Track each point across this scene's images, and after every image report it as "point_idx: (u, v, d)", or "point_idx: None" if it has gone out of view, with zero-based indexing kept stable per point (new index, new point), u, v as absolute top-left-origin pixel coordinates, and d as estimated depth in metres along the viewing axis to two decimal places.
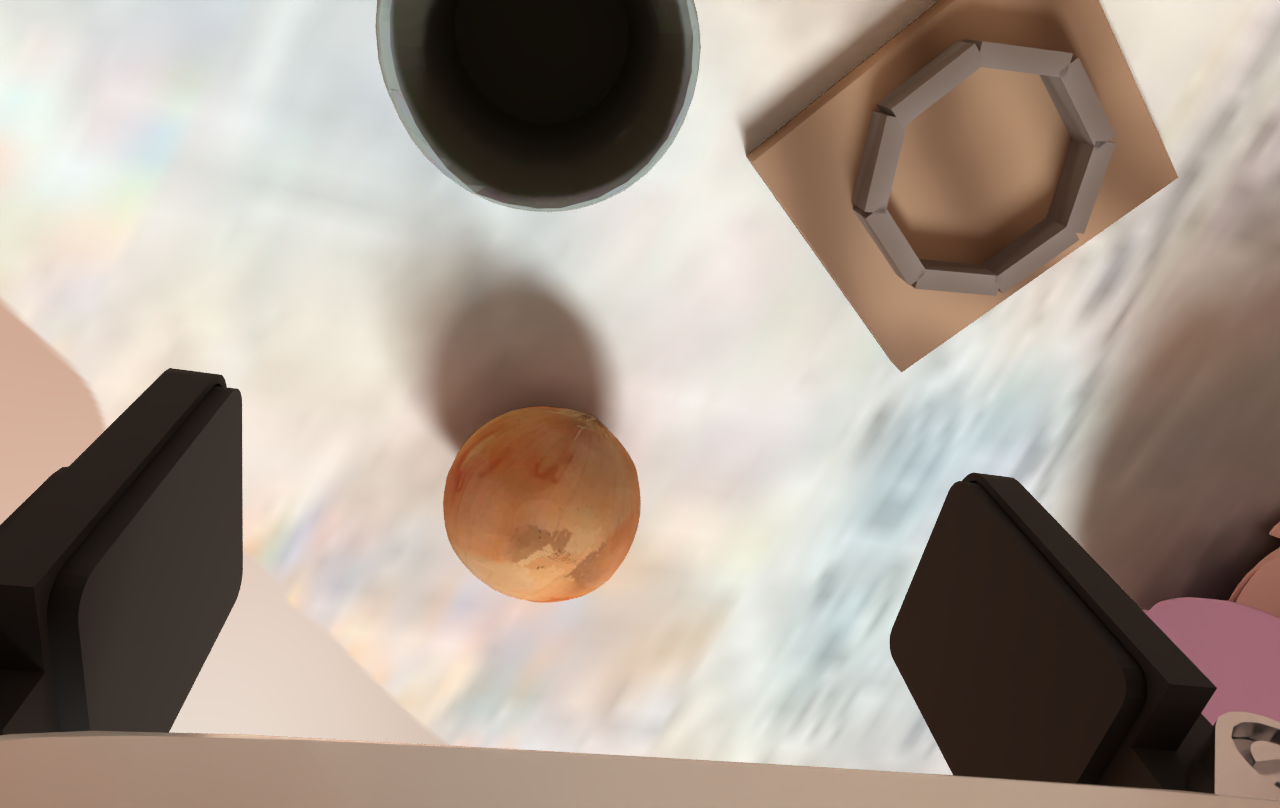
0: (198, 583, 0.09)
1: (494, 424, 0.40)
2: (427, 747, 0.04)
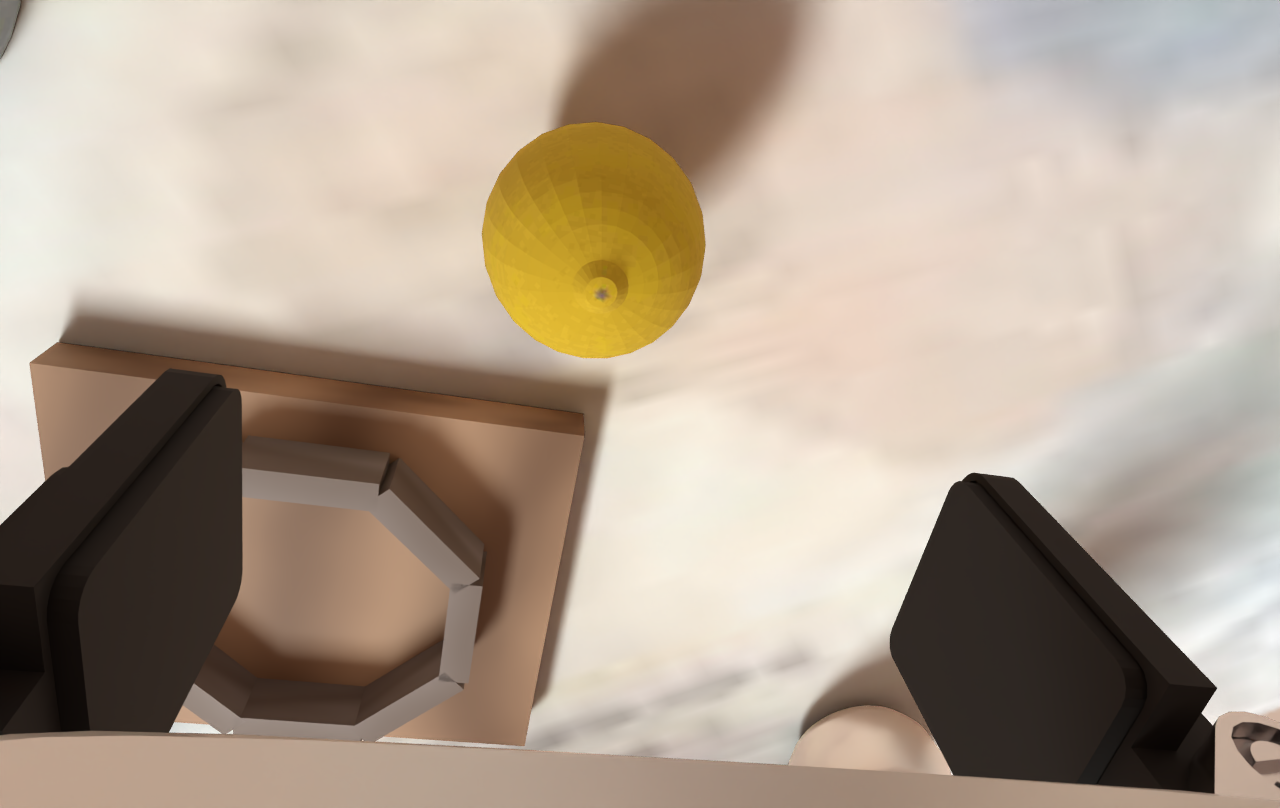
0: (198, 583, 0.09)
1: None
2: (427, 747, 0.04)
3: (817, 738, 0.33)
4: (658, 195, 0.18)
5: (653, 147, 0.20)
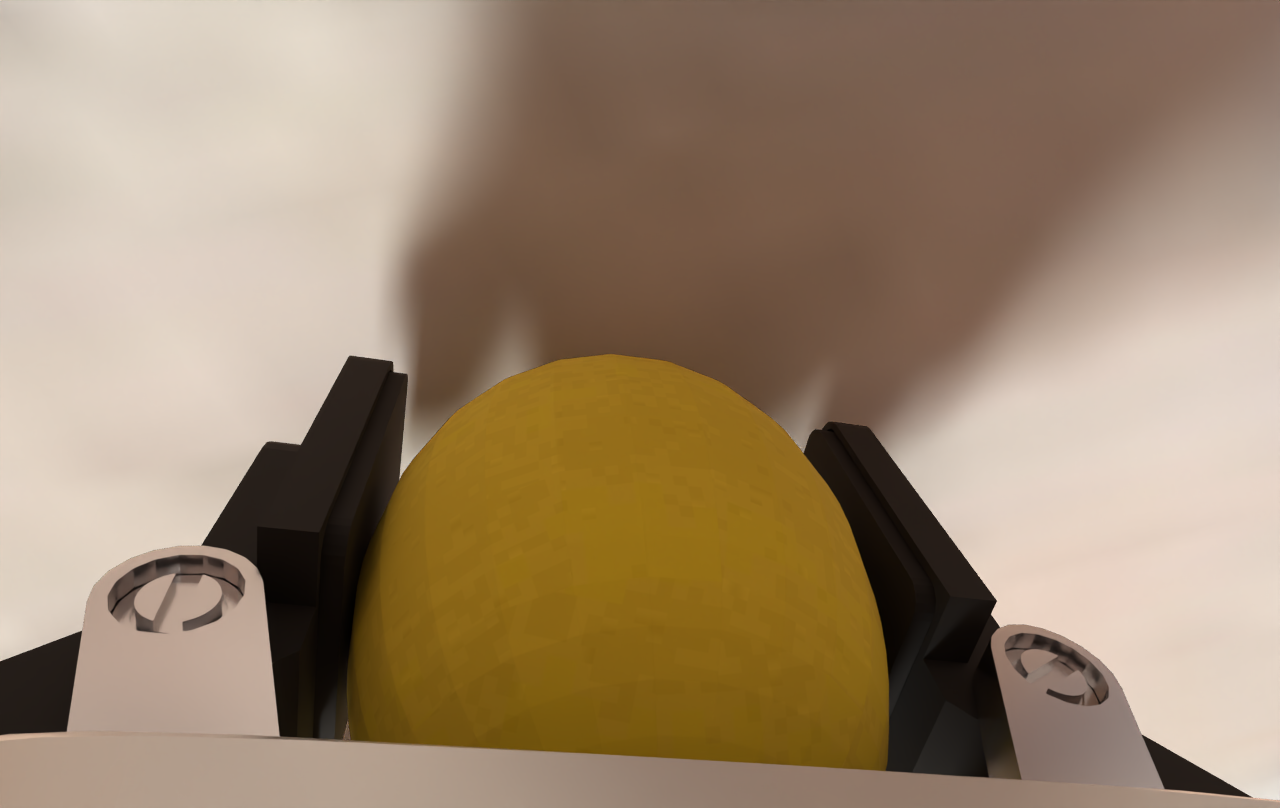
0: None
1: None
2: (427, 747, 0.04)
3: None
4: (808, 650, 0.07)
5: (766, 454, 0.08)
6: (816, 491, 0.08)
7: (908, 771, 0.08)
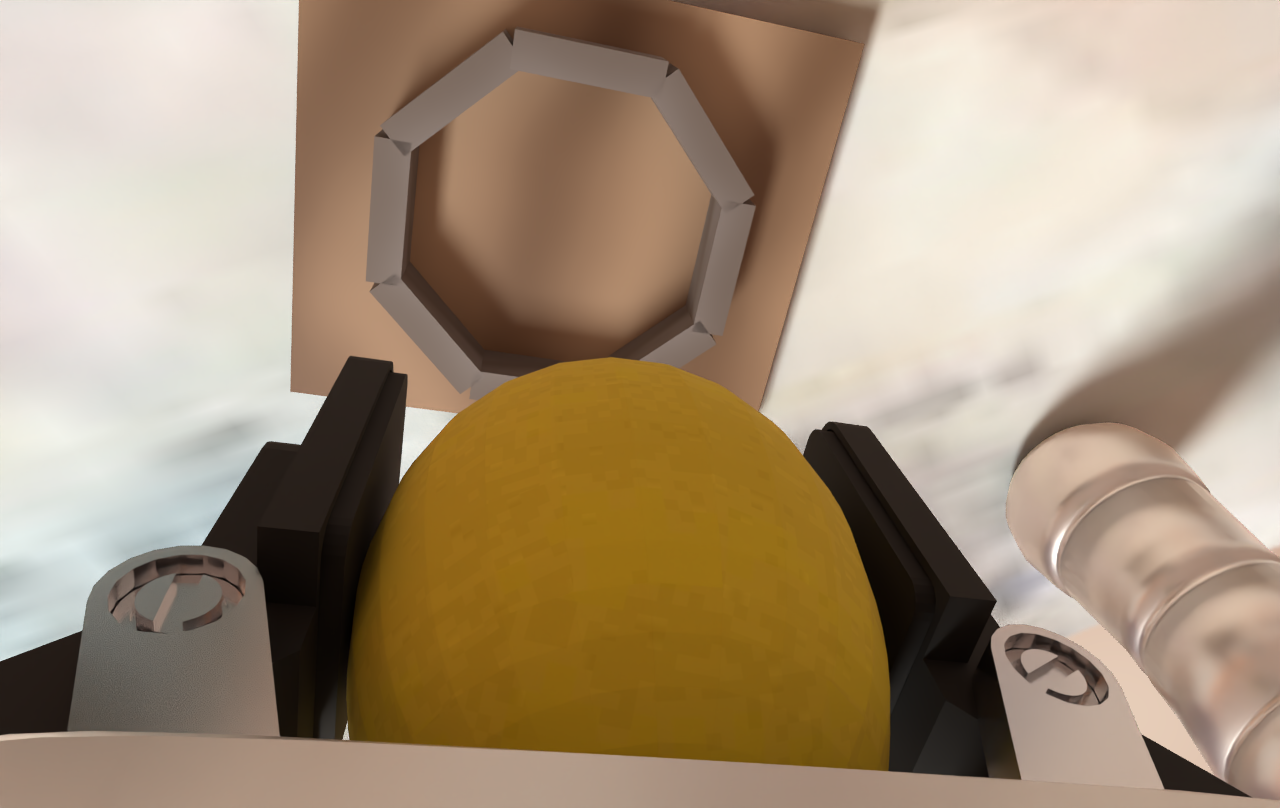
0: None
1: None
2: (427, 747, 0.04)
3: (1049, 449, 0.32)
4: (807, 656, 0.06)
5: (767, 459, 0.08)
6: (817, 495, 0.08)
7: (908, 771, 0.08)
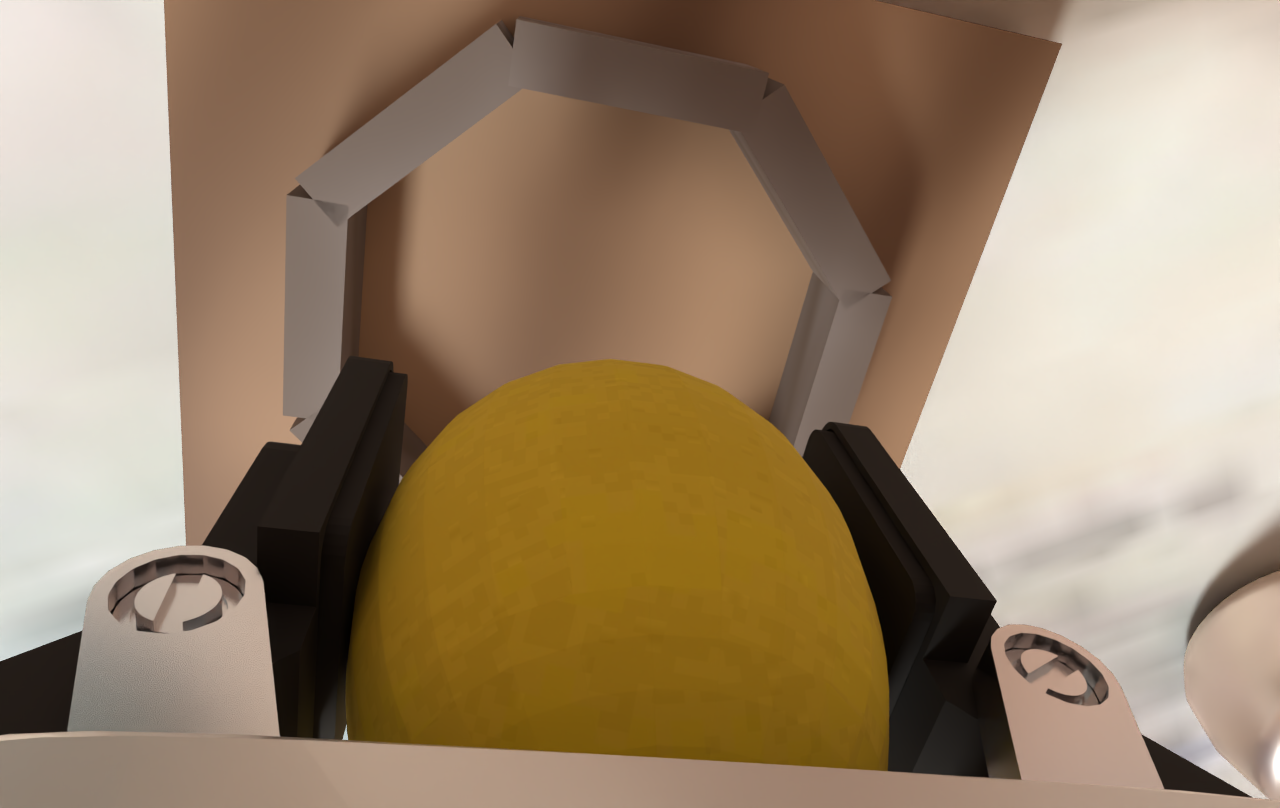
0: None
1: None
2: (427, 747, 0.04)
3: (1258, 608, 0.23)
4: (807, 661, 0.06)
5: (766, 461, 0.08)
6: (816, 497, 0.08)
7: (908, 771, 0.08)
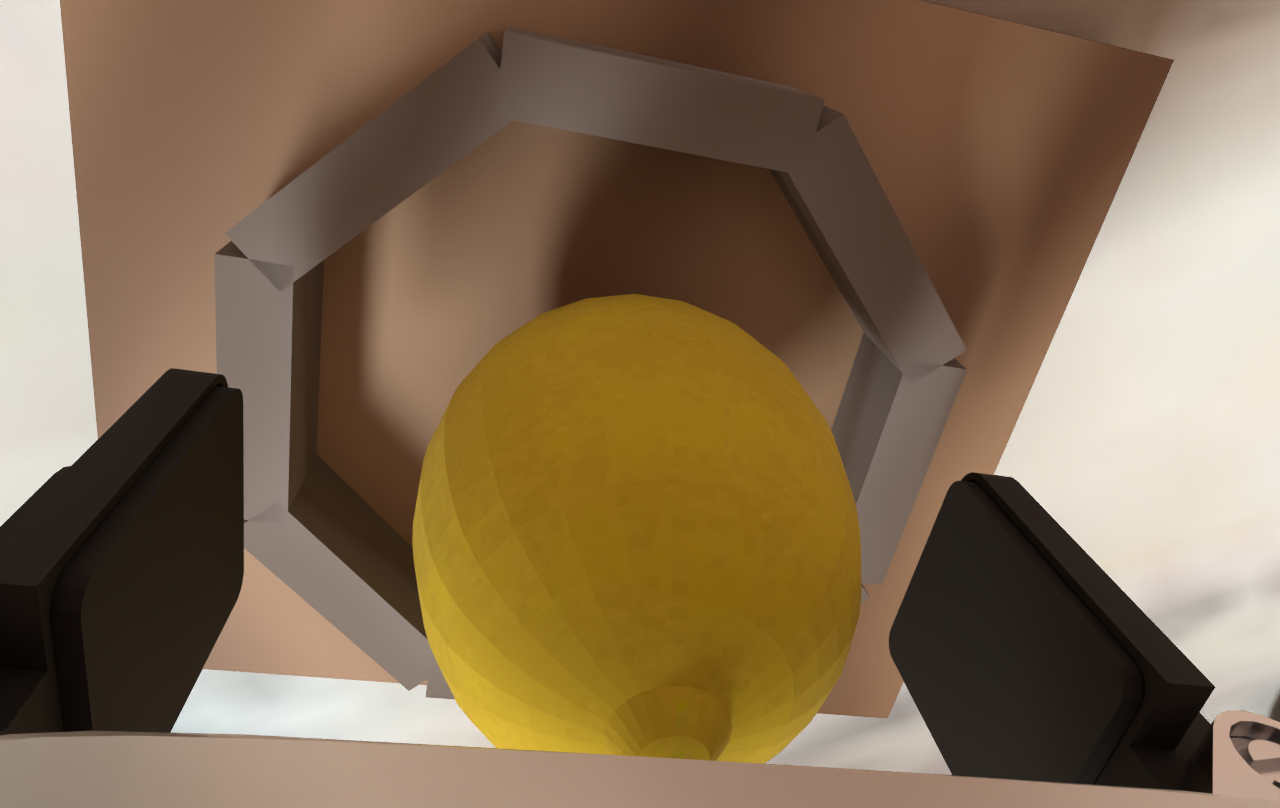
0: (200, 582, 0.09)
1: None
2: (427, 747, 0.04)
3: None
4: (793, 508, 0.08)
5: (762, 367, 0.10)
6: (804, 399, 0.10)
7: None
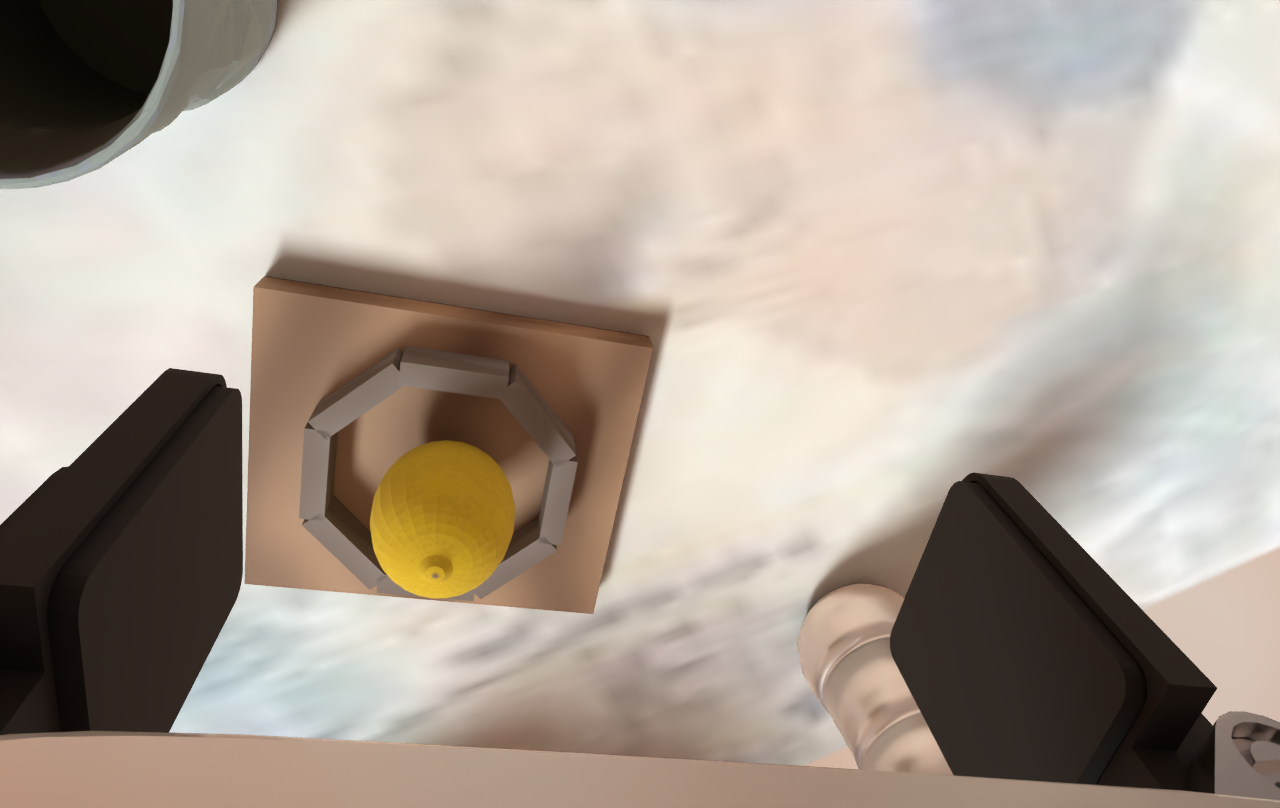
0: (198, 583, 0.09)
1: None
2: (427, 747, 0.04)
3: (823, 606, 0.42)
4: (473, 510, 0.30)
5: (476, 468, 0.32)
6: (491, 478, 0.32)
7: None
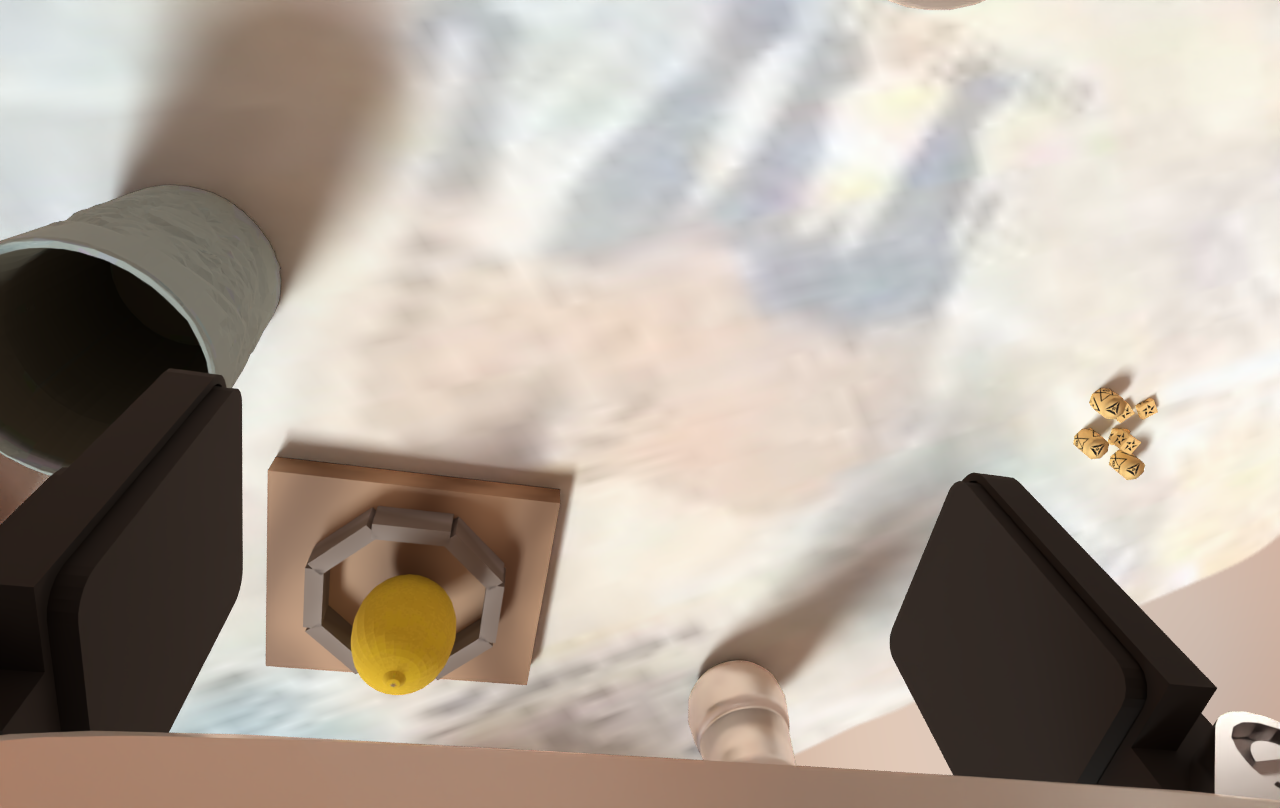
0: (198, 583, 0.09)
1: None
2: (427, 747, 0.04)
3: (704, 679, 0.55)
4: (420, 637, 0.43)
5: (425, 603, 0.45)
6: (436, 609, 0.45)
7: None
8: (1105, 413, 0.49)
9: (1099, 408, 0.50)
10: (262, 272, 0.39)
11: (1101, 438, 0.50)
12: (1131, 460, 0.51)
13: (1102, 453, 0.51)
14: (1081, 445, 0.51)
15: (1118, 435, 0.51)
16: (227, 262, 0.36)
